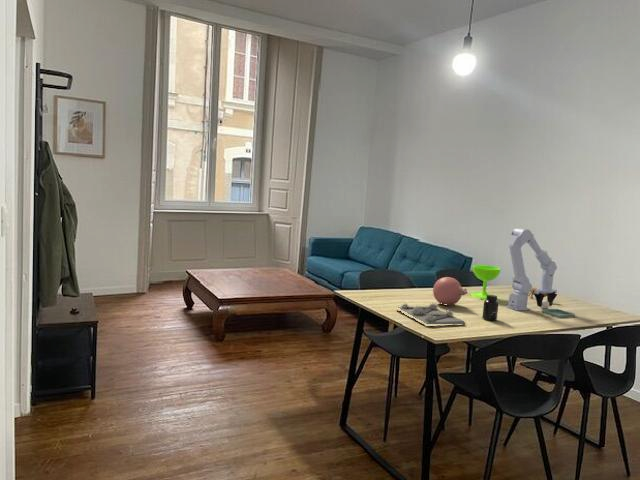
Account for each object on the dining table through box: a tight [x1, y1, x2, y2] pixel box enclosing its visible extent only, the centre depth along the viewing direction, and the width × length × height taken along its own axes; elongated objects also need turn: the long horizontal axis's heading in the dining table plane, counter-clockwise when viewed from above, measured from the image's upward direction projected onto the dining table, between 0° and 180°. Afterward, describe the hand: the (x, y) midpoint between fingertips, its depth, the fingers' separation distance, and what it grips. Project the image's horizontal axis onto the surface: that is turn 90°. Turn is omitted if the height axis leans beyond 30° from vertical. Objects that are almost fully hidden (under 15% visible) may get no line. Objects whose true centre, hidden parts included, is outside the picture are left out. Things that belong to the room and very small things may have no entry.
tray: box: [541, 308, 576, 319], centre depth 264 cm, size 11×11×1 cm
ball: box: [540, 299, 550, 310], centre depth 276 cm, size 5×5×5 cm
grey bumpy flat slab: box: [397, 302, 466, 325], centre depth 242 cm, size 30×22×7 cm
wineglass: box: [470, 264, 502, 301], centre depth 296 cm, size 16×16×18 cm
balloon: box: [432, 276, 468, 306], centre depth 269 cm, size 15×20×15 cm
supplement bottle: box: [482, 294, 499, 322], centre depth 245 cm, size 7×7×12 cm
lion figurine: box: [528, 287, 547, 300], centre depth 298 cm, size 15×5×9 cm, turn 33°
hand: (544, 306), depth 276 cm, fingers open, 7 cm apart
